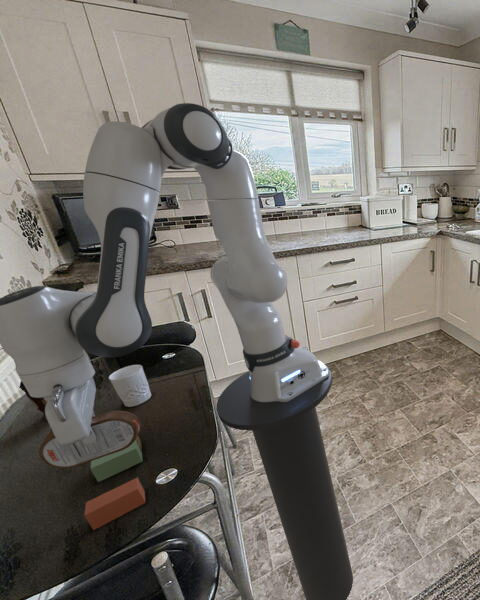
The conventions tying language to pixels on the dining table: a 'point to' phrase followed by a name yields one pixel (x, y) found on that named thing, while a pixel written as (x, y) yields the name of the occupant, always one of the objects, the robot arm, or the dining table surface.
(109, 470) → the sage block
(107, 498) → the terracotta block
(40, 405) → the coffee cup
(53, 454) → the tin
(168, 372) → the dining table surface
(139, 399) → the white cup
